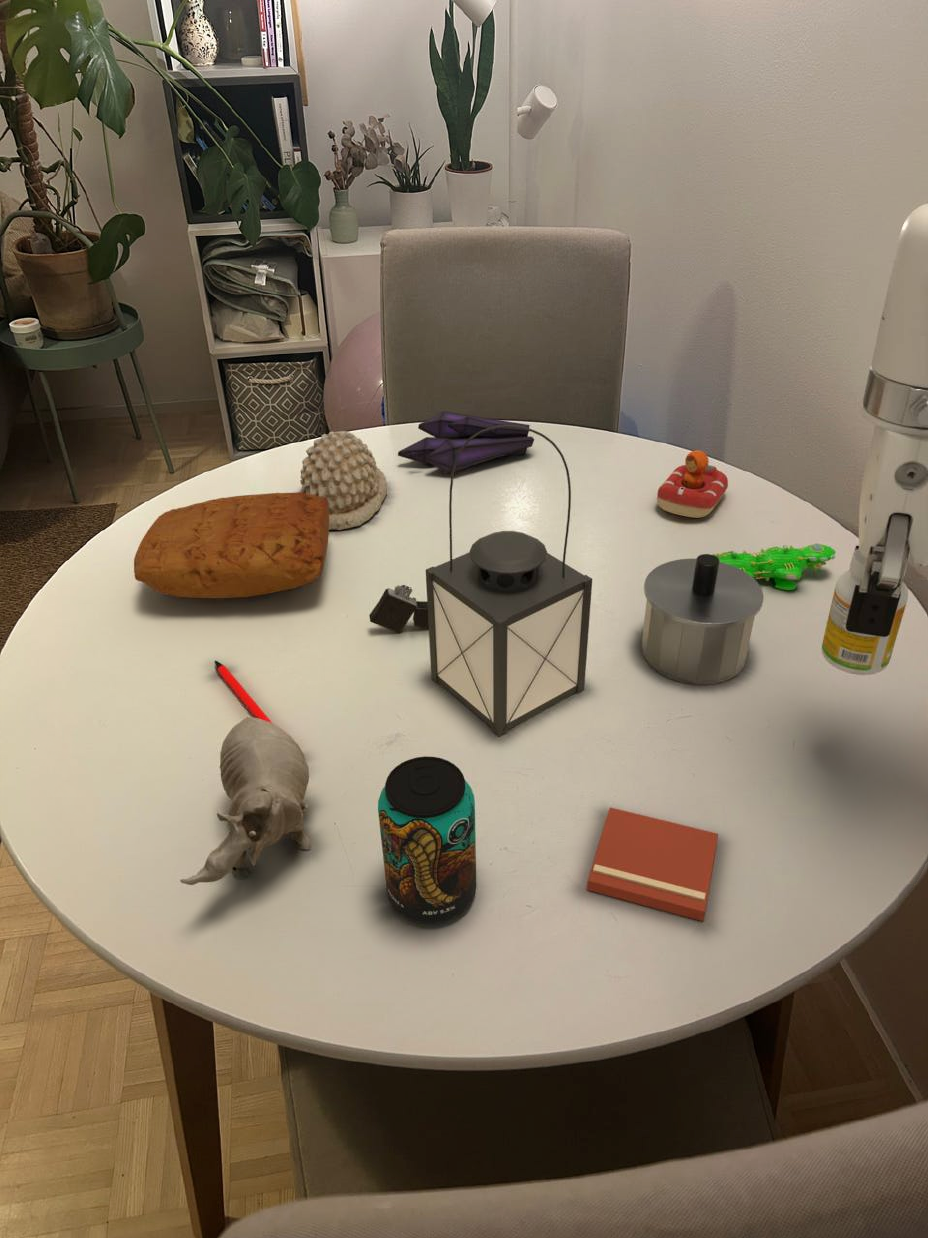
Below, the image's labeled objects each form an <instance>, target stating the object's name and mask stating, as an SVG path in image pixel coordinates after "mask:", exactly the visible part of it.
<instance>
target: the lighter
mask: <svg viewBox="0 0 928 1238" xmlns="http://www.w3.org/2000/svg"><path fill="white" fill-rule="evenodd" d="M412 593H413V588H412V587H411V586H408V585H405V584H402V585H396V586H395V587H394V589H393V588H390V587H388V588H386V589H385V590H384V591H383V593H382V595H381V597H380V599H379V601H378V602H377V603H376V605H375V606H374V607H373V609H372V610H371V612H370V613H369V615H368V616H369V622H370V623H372V624H375V625H378V626H380V627H383V628H385V629H388V630H391V631H393V632H396V633H397V634H400V633H401V632H402V631H403V629H404V628H405V626H406V625H407V624H408V622H409V620H410V619H411V618H412V621H413V626H415V627H417V628H421V629H428V630H429V624H428V606H427V600H426V601H421V600H420V601H419V600H417V598H416V597H411V594H412Z"/></svg>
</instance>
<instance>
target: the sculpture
mask: <svg viewBox="0 0 928 1238" xmlns="http://www.w3.org/2000/svg"><path fill="white" fill-rule="evenodd" d="M305 452H306V454H307V456H306V457H305V458H303V460H302V461H301V464H302V468H301V469H300V476H299V477H300V480H299V483H300V485H301V489H300V491H299V492H302V493H304V494H313V495H317V496H318V497H324V498H327V499H328V503H329V531H330V530H337V531H341V530H345V529H350V528H354V527H358V526H361V525H363V524H364V523H365V522H367V521H369V520H370V519H371V518H372V517H373V516H374V514H375V513H376V512H378V511H379V510H380V508H381V506H382V502H383V501H384V500H385V497H386V495H387V489H388V488H387V486H388V484H387V480H386V477H385V474H384V472H383V471H382V470H381V468H379V467H378V466H377V461H376V458H375V457H374V456H373V455H374V454H373V452H372V451H371V450H370V449H369V447H368V445H367V443H364V442H363V440H362V439H361V438H358V437H356V435H355V434H354V433H352V432H349V431H346V430H341V431H339V430H338V431H330V432H329V433H328V434H326V433H323V434H321V437H320V438H318V439H317V438H316V439H314V440H313V445H311V446H309V447H308V448H307V449H306V450H305Z"/></svg>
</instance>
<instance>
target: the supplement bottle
mask: <svg viewBox="0 0 928 1238" xmlns="http://www.w3.org/2000/svg"><path fill="white" fill-rule="evenodd" d="M883 550H884V547H881V546H876V547H875V548H874V551H879V552H883ZM864 562H865V557H863V556H862V554H861V553H860V552H859V549H857V550H856V551H855V550H854V551H853V553H852V556H851V560H850V564H849V569H848V570H846V571H844V572H843V573H842V574H840V575H839V577H838V578H837V580H836V583H835V587H834V591H833V595H832V600H831V604H830V608H829V612H828V617H827V621H826V626H825V630H824V634H823V638H822V644H821V653H822V656H823V658H824V660H825V661H826V662H827V663H829V665H831V666H832V667H834V668H835V669H837V670H839V671H842V672H845V673H846V674H847V673H848V674H851V675H855V676H856V675H857V676H870V675H876V674H878V673H880V672H883V671H884V670H885V669H886V668H887V667H888V666H889V665H890V662H891V658H892V655H893V651H894V648H895V644H896V640H897V637H898V633H899V631H900V627H901V623H902V620H903V617H904V614H905V609H906V606H907V603H908V599H909V589H908V586H907V584H906V583H905V582H904V581H903V582H902V586H901V596H900V600H899V603H898V607H897V610H896V614H895V617H894V621H893V624H892V628H891V631H890V634H889V636H887V637H880V636H874V635H868V634H861V633H855V632H849V631H847V630H846V621H847V617H848V613H849V609H850V605H851V601H852V597H853V593H854V589H855V585H860V581H861V576H862V571H863V567H864ZM880 567H881V562H875V561H874V563H873V568H872V572H871V575H872V574H873V572H874V571H877V572H879V569H880ZM907 567H908V563H907V564H906V568H905V573H904V577H903V579H904V578H905V576H906V571H907Z"/></svg>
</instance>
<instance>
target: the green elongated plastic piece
mask: <svg viewBox="0 0 928 1238" xmlns="http://www.w3.org/2000/svg"><path fill="white" fill-rule="evenodd" d="M711 555H714V556H716V557H717V558H718V559H719V562H722V563H726V564H729V565H732V566H734V567H736V568H739V569H741V570H742V571H744V572H746V573H747V574H749V575H750V576H751V577H753V578H754V579H755V580H757V579H758V580H760V579H765V580H766V581H767V582H769V581H770V579H772V578H773V579H774V582H775V586H774V588H777V589H780V590H784V591H793V590H795V589H796V588H797V586H798V585H797V583H796V581H798V580H799V581H800V579H801V578H802V575H803V572H804V571H805V570H806V568H808V569H810V570H812V571H813V572H814V573H820V572H821V571H822V570H820V568H822V567H823V566H826V565H827V562H829V561H831V560H834V559H835V558H836V549H834V548H832V547H830V546H829V545H825V544H822V543H811V544H809V545H807V546H802V547H800V548H799V547H798V548H795V547H794V546H793V545H790V546H789V547H788V545H782V547H780V546H772V547H768V548H766V549H764V548H761V549H760V551H759V552H750V553H748V552H747V551H746V550H745V549H744V550H743V551H742V553H737V551H735V550H730V551H724V552H721V553H720V552H718V553H716V554H715V553H712V554H711ZM821 573H822V572H821Z"/></svg>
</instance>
